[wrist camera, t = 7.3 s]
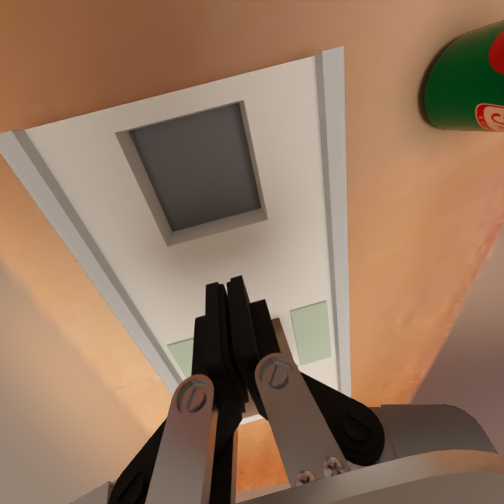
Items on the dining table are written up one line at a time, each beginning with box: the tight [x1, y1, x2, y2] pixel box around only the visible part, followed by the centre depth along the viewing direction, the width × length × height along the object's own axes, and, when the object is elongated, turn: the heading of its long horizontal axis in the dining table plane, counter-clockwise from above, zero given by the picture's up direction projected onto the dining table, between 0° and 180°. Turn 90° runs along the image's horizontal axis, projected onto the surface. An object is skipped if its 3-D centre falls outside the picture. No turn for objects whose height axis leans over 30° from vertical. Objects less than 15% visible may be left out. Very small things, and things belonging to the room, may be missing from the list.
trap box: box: [0, 46, 351, 425], centre depth 19 cm, size 30×16×3 cm, turn 13°
